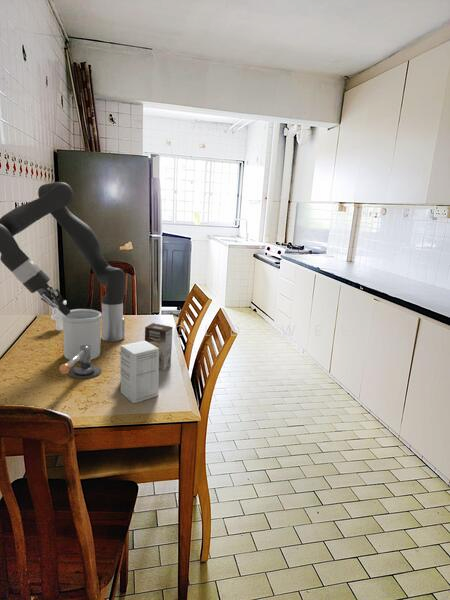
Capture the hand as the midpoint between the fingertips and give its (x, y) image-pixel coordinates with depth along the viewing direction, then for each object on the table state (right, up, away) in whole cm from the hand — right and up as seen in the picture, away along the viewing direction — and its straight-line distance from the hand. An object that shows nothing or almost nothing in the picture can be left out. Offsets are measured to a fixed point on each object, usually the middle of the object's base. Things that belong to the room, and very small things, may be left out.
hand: (67, 313), depth 136 cm
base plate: (+4, -22, +7) cm, 23 cm away
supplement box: (+27, -27, -7) cm, 38 cm away
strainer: (-25, -10, +52) cm, 58 cm away
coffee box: (+28, -21, +17) cm, 39 cm away
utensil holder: (-3, -18, +23) cm, 29 cm away
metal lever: (+4, -23, -1) cm, 23 cm away
